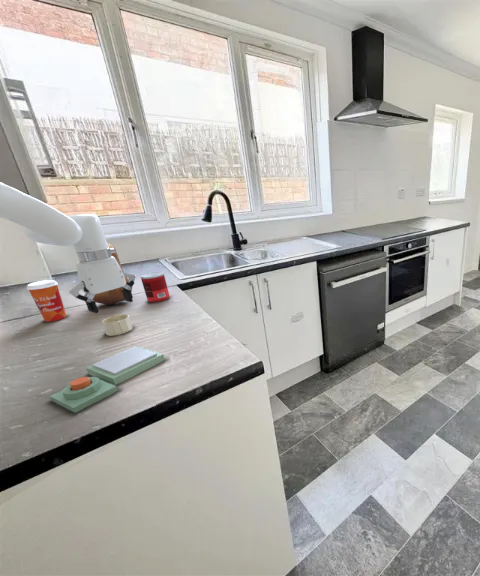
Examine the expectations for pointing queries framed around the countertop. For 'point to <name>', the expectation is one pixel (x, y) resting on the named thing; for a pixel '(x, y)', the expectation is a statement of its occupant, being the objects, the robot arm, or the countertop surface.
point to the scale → (125, 364)
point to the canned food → (155, 286)
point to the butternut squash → (112, 295)
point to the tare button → (80, 383)
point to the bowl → (117, 324)
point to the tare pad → (83, 395)
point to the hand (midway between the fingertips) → (112, 306)
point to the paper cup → (47, 299)
